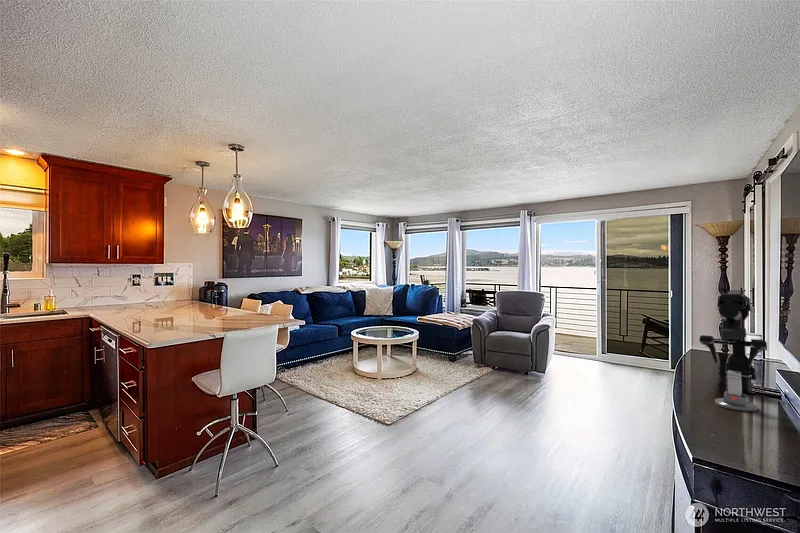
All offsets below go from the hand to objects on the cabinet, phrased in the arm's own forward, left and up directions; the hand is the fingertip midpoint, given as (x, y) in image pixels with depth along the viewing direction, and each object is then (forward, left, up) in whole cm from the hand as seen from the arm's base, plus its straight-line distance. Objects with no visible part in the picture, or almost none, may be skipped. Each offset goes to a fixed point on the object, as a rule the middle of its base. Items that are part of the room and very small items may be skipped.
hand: (732, 365), depth 136 cm
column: (-3, -3, -15) cm, 15 cm away
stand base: (-3, -3, -16) cm, 17 cm away
